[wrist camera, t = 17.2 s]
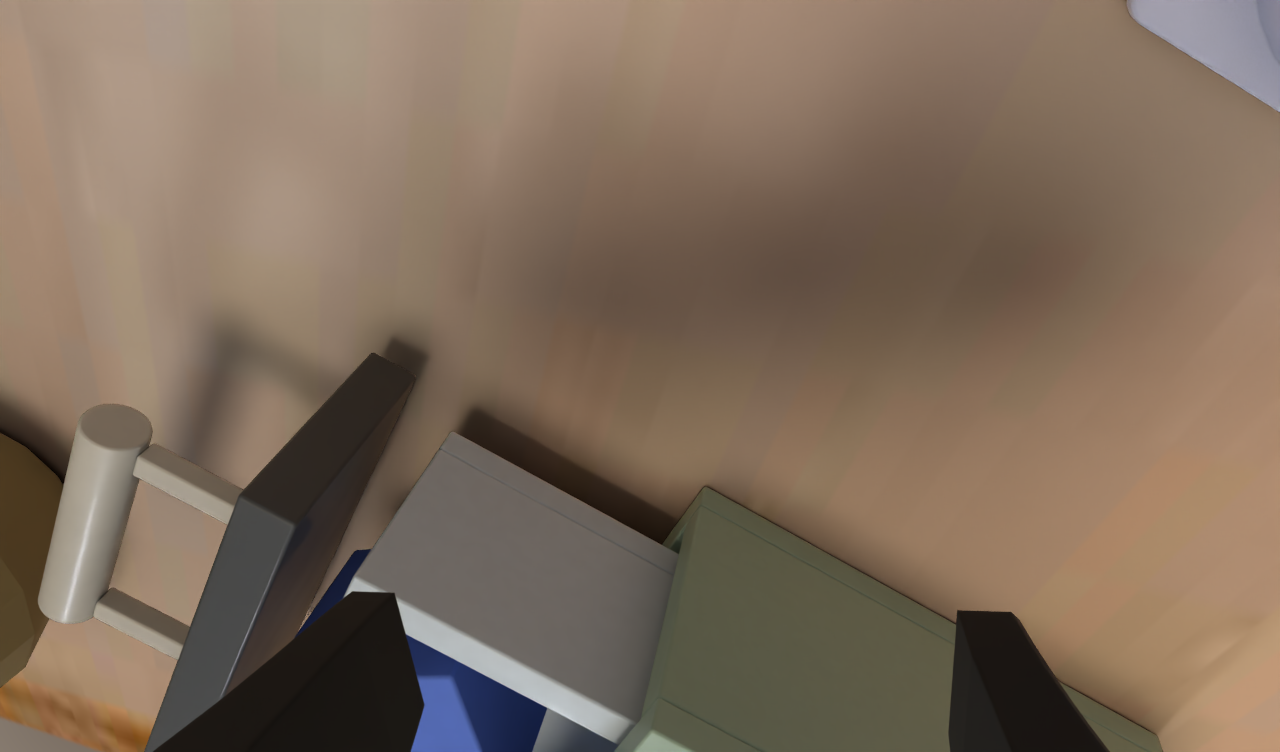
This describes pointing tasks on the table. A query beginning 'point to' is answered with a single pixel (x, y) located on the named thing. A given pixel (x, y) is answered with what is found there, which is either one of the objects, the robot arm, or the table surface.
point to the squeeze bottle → (23, 550)
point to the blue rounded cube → (454, 694)
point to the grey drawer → (375, 563)
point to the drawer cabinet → (801, 652)
